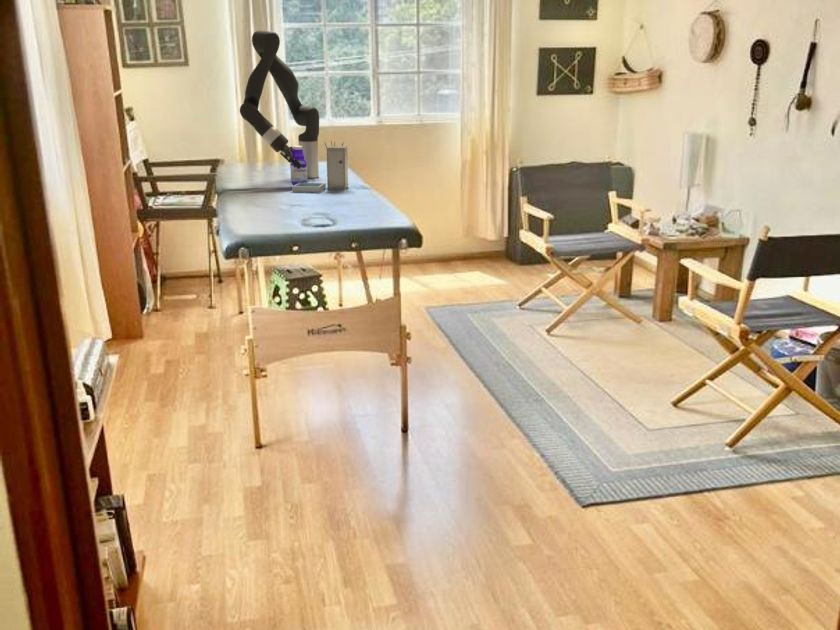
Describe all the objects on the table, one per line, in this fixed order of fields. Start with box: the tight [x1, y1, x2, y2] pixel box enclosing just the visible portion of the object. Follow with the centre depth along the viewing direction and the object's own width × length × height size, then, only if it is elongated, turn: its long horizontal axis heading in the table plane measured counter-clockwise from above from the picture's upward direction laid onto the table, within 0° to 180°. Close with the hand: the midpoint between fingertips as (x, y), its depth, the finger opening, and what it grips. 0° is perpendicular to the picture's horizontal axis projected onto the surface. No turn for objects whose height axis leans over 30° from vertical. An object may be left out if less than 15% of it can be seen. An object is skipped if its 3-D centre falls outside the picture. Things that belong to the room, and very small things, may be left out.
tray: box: [291, 182, 327, 193], centre depth 351 cm, size 12×12×2 cm
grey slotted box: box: [326, 145, 349, 190], centre depth 355 cm, size 7×8×18 cm
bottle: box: [289, 145, 308, 186], centre depth 359 cm, size 7×6×17 cm
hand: (302, 166), depth 359 cm, fingers closed on bottle, 6 cm apart
